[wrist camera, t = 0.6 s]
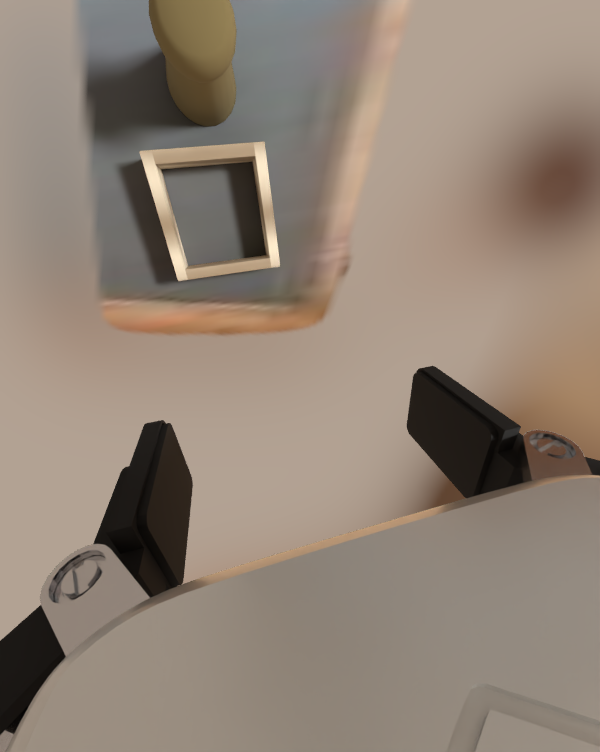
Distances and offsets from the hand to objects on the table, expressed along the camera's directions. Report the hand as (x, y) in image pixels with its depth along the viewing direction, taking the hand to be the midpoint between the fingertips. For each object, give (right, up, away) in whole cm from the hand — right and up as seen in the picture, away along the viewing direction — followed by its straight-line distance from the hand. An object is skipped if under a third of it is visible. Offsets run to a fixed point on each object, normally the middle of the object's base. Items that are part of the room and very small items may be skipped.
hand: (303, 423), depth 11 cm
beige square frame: (-9, +19, +20) cm, 29 cm away
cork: (-9, +29, +15) cm, 34 cm away
